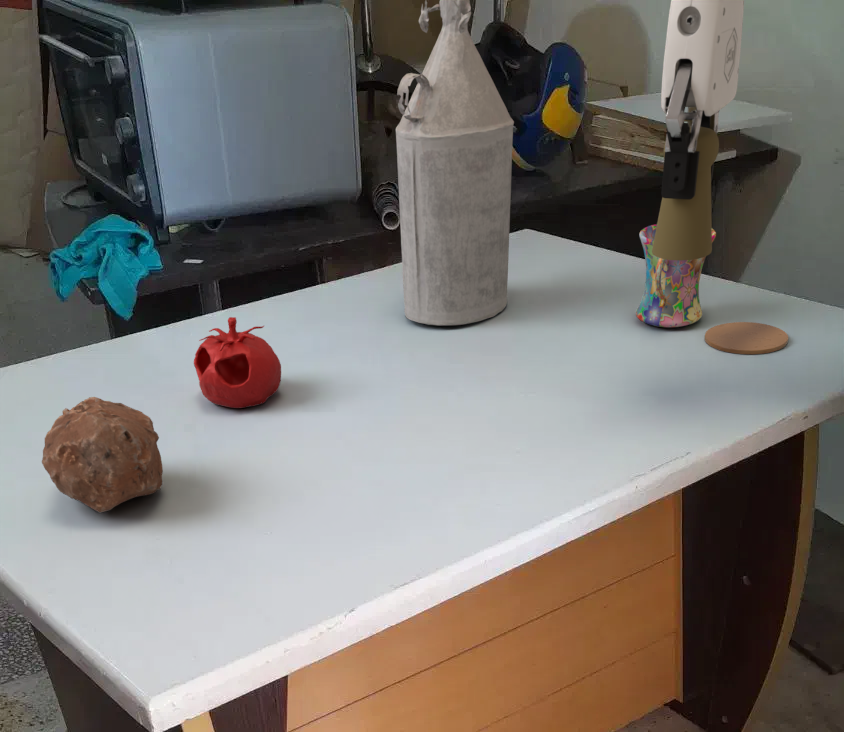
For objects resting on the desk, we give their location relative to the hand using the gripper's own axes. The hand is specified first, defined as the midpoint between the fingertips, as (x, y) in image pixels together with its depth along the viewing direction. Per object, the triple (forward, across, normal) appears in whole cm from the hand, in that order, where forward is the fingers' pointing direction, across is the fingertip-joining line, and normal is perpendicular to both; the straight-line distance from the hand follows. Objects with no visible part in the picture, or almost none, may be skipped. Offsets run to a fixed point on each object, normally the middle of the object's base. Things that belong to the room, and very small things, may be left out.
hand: (686, 188), depth 100 cm
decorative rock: (+21, -44, +43) cm, 65 cm away
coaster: (+21, +20, -4) cm, 30 cm away
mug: (+21, +22, +7) cm, 32 cm away
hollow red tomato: (+21, -18, +46) cm, 53 cm away
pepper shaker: (+6, 0, 0) cm, 6 cm away
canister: (+21, +18, +35) cm, 45 cm away
